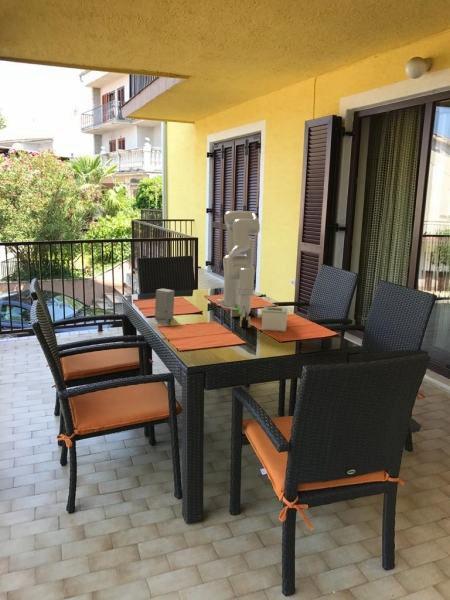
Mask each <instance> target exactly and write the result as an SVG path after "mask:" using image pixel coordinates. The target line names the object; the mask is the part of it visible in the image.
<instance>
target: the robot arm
mask: <svg viewBox="0 0 450 600" xmlns="http://www.w3.org/2000/svg"><path fill="white" fill-rule="evenodd" d="M223 218H224V224H225V227H226V230H227V231H226V246H225V247H226V251H227V252H228V254H227V255H225V256H223V259H222V265H223V286H224V287H223V298H222V299H216V303H218V304H220V308H223V309H228V310H231V307H235V304H237V307H239V314H241V313H242V326H241V327H240V328H247V327H248V320H247V318H248V317H250V316H249V314H250V312H251V307H252V296H254V287H255V286H254V285H255V273H256V271H255V268H254V266H253V261H254V250H255V246H254V245H255V243H254V239H252V238H251V237H250V235H258V234H259V233H260V230H261V229H260V228H261V226H260V221H259V218H258V216H257V214H256V212H255V211H251V210H247V211H246V210H229V211H226V212H225V213H224V216H223Z"/></svg>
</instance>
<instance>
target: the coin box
mask: <svg viewBox="0 0 450 600" xmlns="http://www.w3.org/2000/svg"><path fill="white" fill-rule="evenodd" d="M287 323H288V307H283V306H282V307H281V306H265V305H264V307H263V309H262V312H261V331H270V330H271V331H272V332H273V331H274V332H286V330H287V325H288V324H287Z"/></svg>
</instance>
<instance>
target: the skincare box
mask: <svg viewBox="0 0 450 600" xmlns="http://www.w3.org/2000/svg"><path fill="white" fill-rule="evenodd" d="M174 309H175V290H174V289H168V288H159V289H156V290H155V305H154V318H155V319H158V320H164V321H168V320H171V319H174Z"/></svg>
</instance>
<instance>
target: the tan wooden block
mask: <svg viewBox="0 0 450 600" xmlns="http://www.w3.org/2000/svg"><path fill="white" fill-rule="evenodd" d="M239 317H240V316H239ZM247 320H248V327H247V328H249V329H250V327H251V316H249V317H248V318H247ZM241 326H242V316H241V317H240V318H239V328H242V327H241Z"/></svg>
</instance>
